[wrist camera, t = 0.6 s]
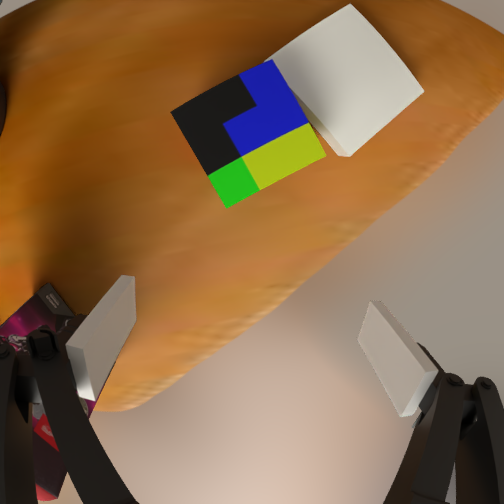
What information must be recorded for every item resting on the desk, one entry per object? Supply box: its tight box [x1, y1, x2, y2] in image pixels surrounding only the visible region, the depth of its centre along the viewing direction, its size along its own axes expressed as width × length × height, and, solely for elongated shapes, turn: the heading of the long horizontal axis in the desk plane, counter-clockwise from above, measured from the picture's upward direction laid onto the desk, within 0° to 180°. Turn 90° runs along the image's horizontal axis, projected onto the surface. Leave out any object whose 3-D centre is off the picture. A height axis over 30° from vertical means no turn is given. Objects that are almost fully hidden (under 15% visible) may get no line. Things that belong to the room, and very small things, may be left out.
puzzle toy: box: [171, 59, 326, 209], centre depth 29 cm, size 10×10×10 cm
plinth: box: [264, 4, 424, 157], centre depth 30 cm, size 14×14×4 cm
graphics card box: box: [0, 283, 116, 501], centre depth 28 cm, size 17×7×27 cm, turn 33°
